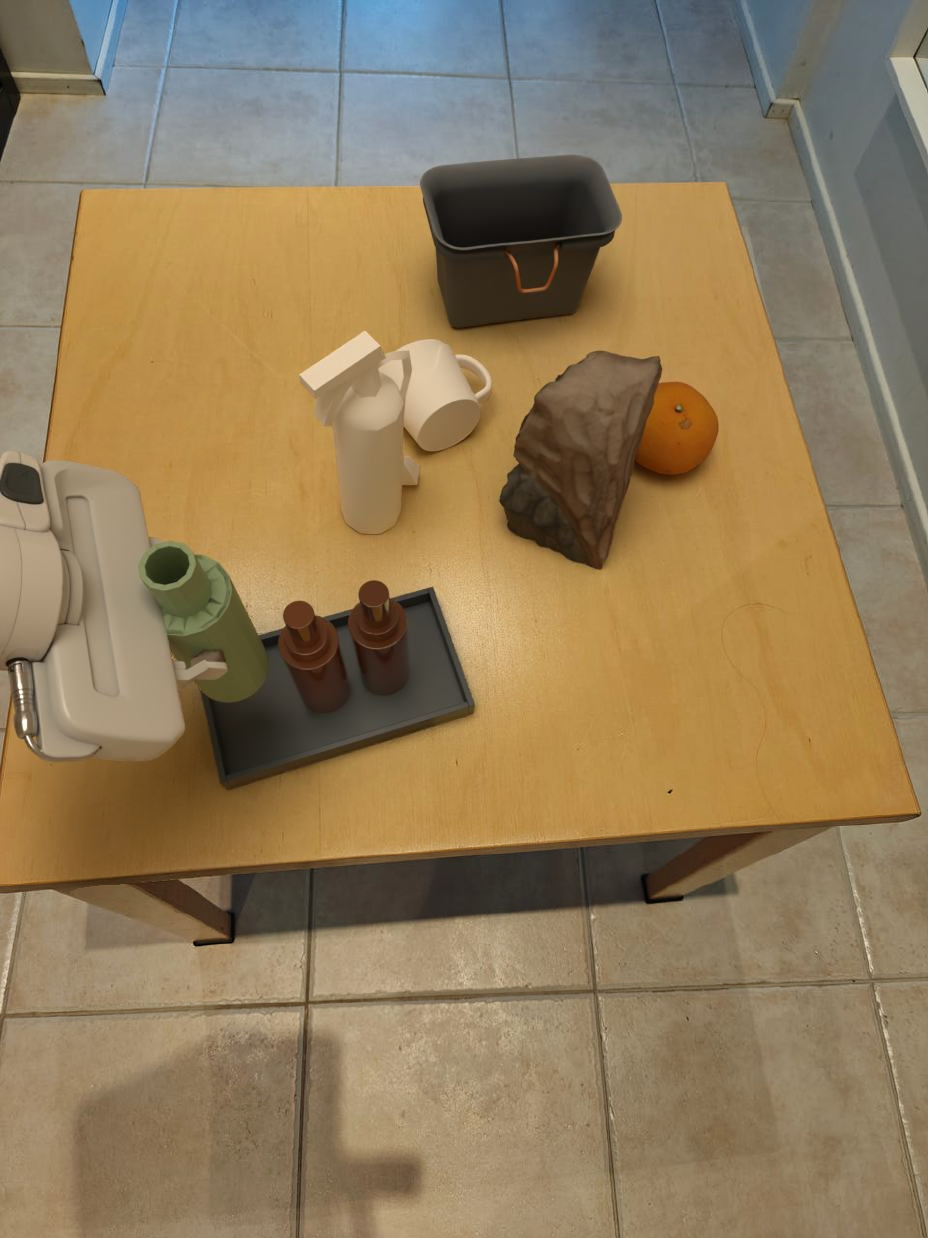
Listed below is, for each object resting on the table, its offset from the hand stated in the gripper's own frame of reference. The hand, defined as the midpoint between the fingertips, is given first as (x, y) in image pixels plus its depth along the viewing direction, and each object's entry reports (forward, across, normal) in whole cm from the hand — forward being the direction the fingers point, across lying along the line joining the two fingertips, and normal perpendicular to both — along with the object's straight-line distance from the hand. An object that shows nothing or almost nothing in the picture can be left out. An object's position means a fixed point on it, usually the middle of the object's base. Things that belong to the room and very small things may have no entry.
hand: (211, 618), depth 56 cm
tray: (+20, 0, +10) cm, 23 cm away
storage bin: (+44, +43, -13) cm, 63 cm away
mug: (+34, +29, -3) cm, 45 cm away
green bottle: (+6, 0, +7) cm, 9 cm away
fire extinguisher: (+27, +19, +4) cm, 34 cm away
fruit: (+51, +18, -20) cm, 57 cm away
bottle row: (+21, 0, +8) cm, 23 cm away
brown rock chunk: (+41, +11, -10) cm, 44 cm away
